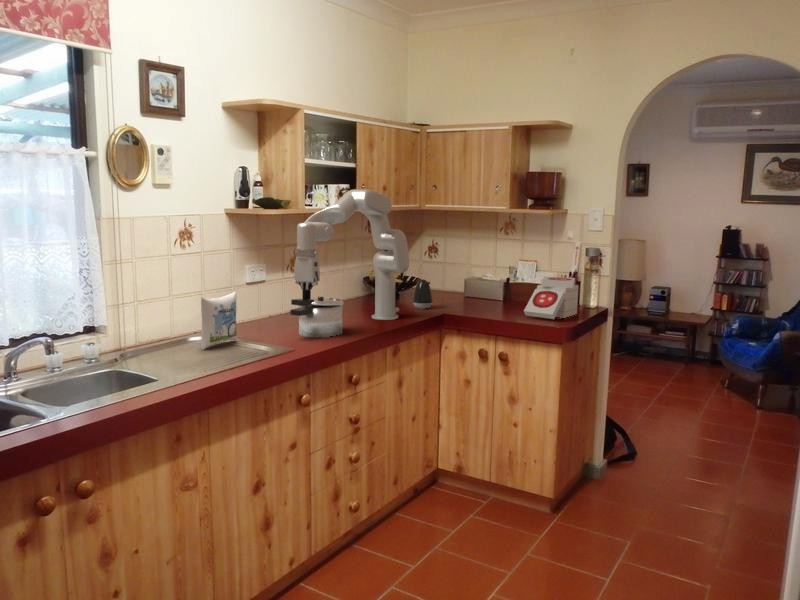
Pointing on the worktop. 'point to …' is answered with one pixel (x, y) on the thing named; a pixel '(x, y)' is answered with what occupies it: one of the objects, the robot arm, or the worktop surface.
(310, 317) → the cooker pot
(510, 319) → the worktop surface
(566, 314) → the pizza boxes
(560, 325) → the worktop surface
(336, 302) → the cooker lid
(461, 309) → the worktop surface
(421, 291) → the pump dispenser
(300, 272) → the robot arm
